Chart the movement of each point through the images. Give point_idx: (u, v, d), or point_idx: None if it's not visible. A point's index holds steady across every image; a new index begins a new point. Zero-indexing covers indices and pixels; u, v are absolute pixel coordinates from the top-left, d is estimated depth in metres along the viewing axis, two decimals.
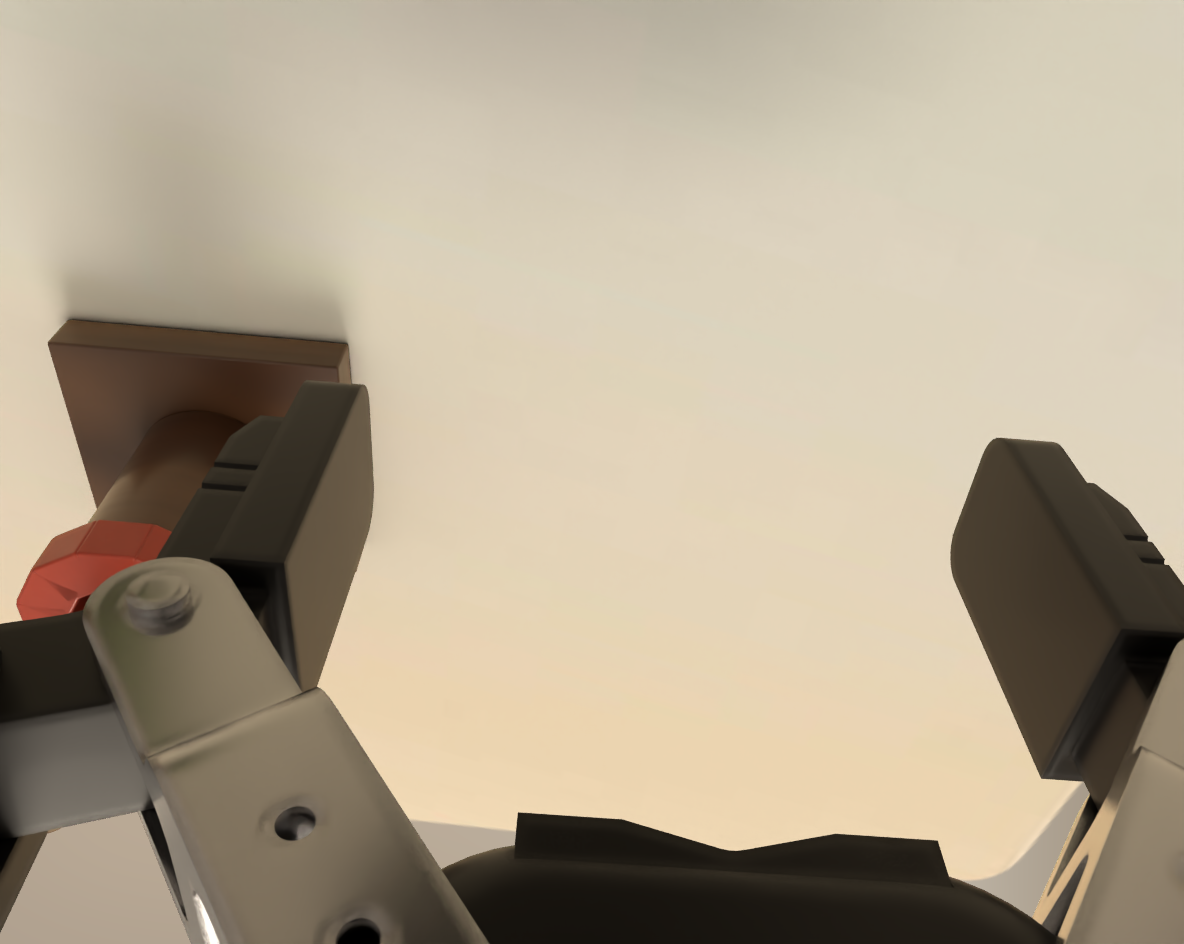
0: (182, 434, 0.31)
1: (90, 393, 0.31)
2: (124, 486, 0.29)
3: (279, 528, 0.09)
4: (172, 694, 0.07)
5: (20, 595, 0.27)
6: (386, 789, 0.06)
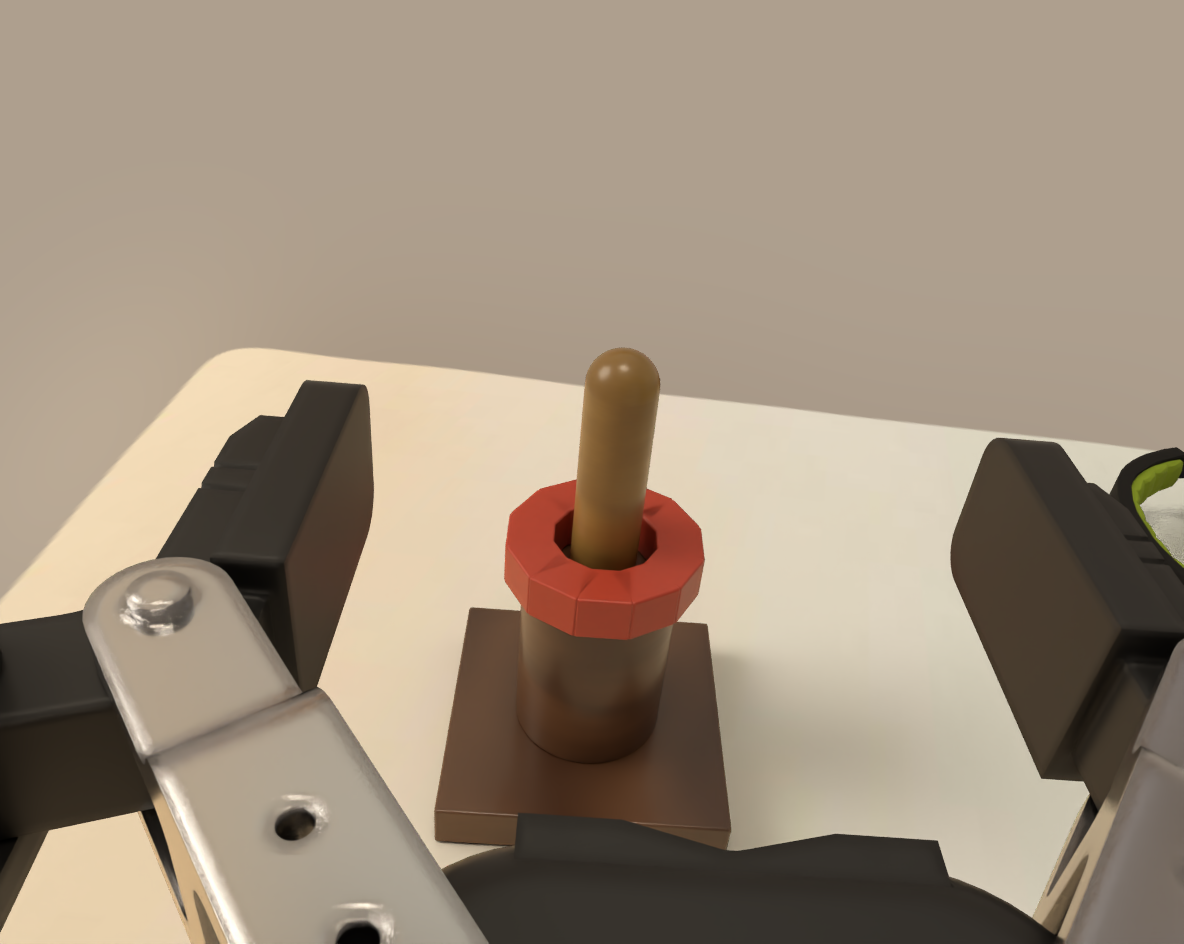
0: None
1: None
2: None
3: (279, 528, 0.09)
4: (172, 694, 0.07)
5: None
6: (386, 789, 0.06)
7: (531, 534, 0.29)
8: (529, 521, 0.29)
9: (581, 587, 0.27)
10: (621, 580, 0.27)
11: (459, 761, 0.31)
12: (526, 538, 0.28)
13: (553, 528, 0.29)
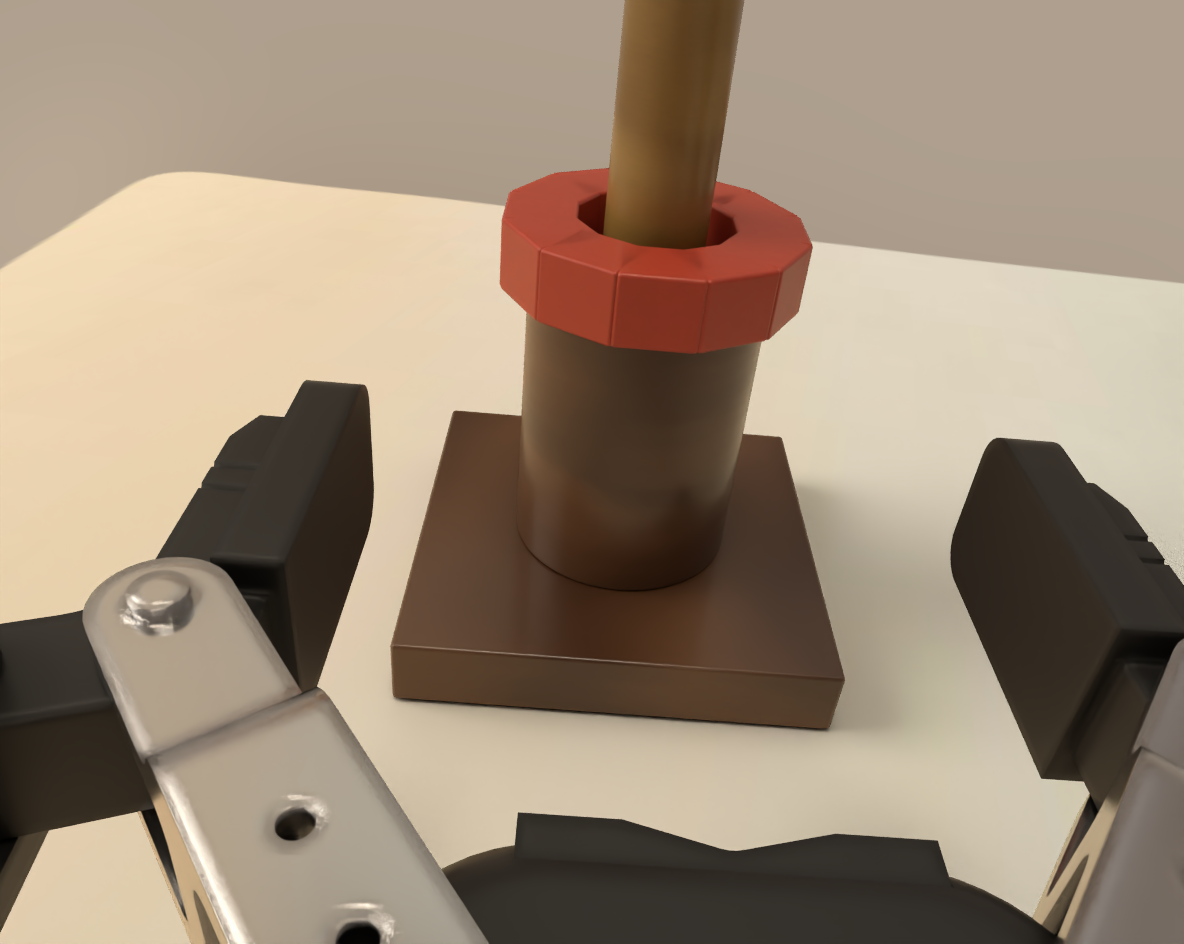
0: None
1: None
2: None
3: (279, 528, 0.09)
4: (172, 694, 0.07)
5: None
6: (386, 789, 0.06)
7: (543, 209, 0.18)
8: (539, 198, 0.19)
9: (623, 262, 0.17)
10: (686, 257, 0.17)
11: (431, 584, 0.21)
12: (534, 213, 0.18)
13: (576, 206, 0.19)
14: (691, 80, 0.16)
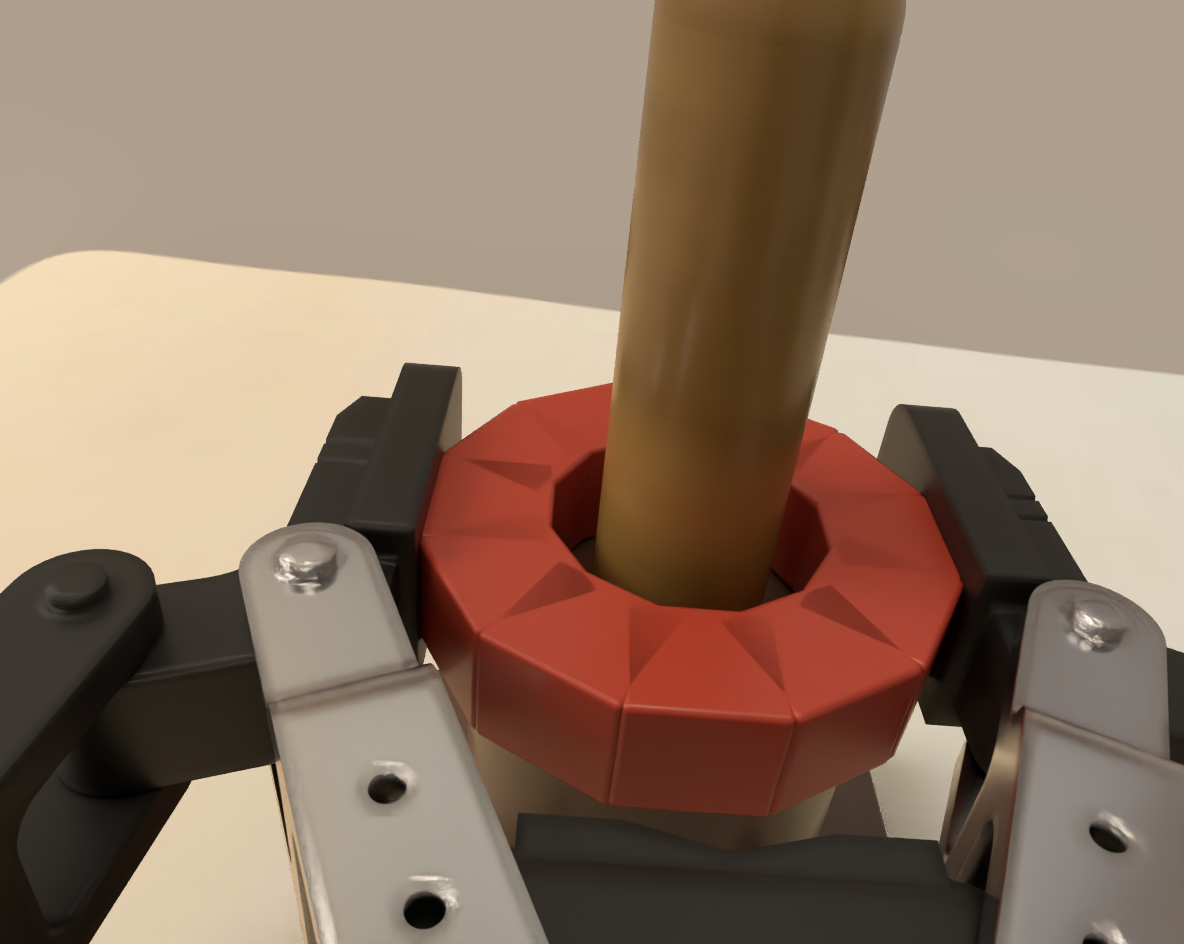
0: None
1: None
2: None
3: (404, 498, 0.10)
4: (304, 649, 0.08)
5: None
6: (476, 771, 0.06)
7: (491, 508, 0.11)
8: (487, 475, 0.11)
9: (632, 665, 0.09)
10: (749, 641, 0.09)
11: None
12: (476, 518, 0.10)
13: (550, 493, 0.11)
14: (763, 334, 0.08)
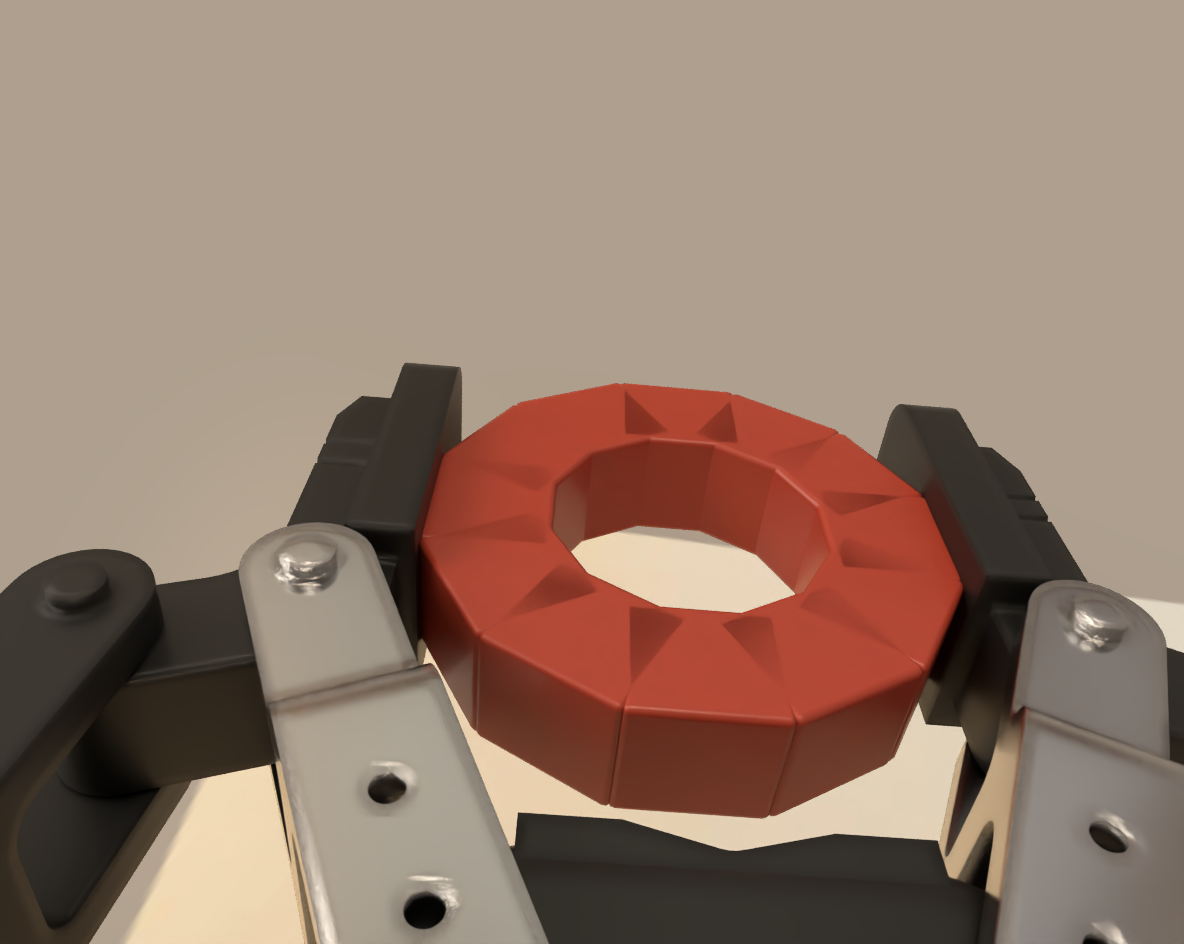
0: None
1: None
2: None
3: (404, 498, 0.10)
4: (304, 649, 0.08)
5: (758, 403, 0.13)
6: (476, 771, 0.06)
7: (491, 509, 0.11)
8: (487, 476, 0.11)
9: (633, 667, 0.09)
10: (750, 643, 0.09)
11: None
12: (476, 519, 0.10)
13: (550, 494, 0.11)
14: None
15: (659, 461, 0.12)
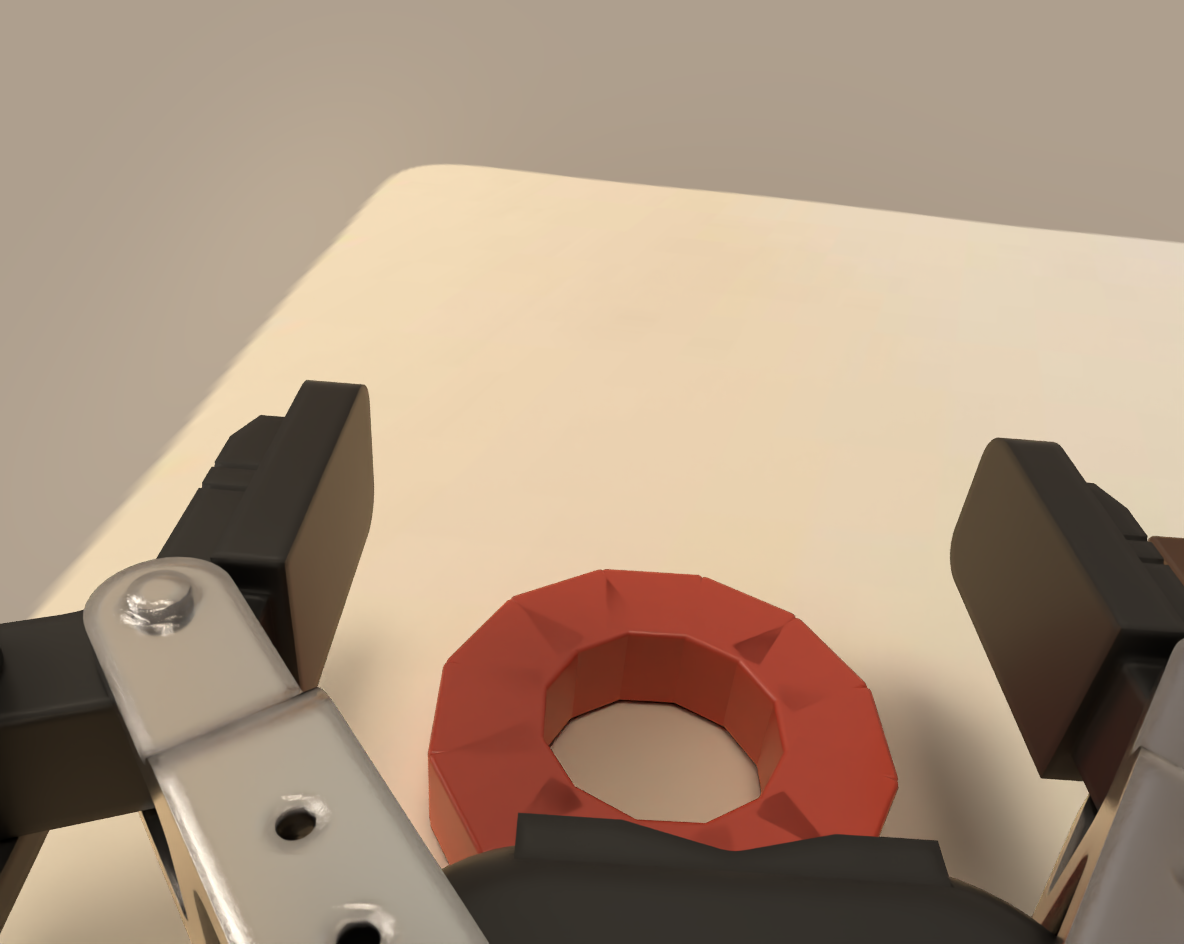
0: None
1: None
2: None
3: (279, 528, 0.09)
4: (173, 694, 0.07)
5: (725, 585, 0.15)
6: (387, 789, 0.06)
7: (490, 720, 0.12)
8: (487, 683, 0.13)
9: None
10: None
11: None
12: (478, 732, 0.12)
13: (542, 701, 0.13)
14: None
15: (637, 650, 0.14)
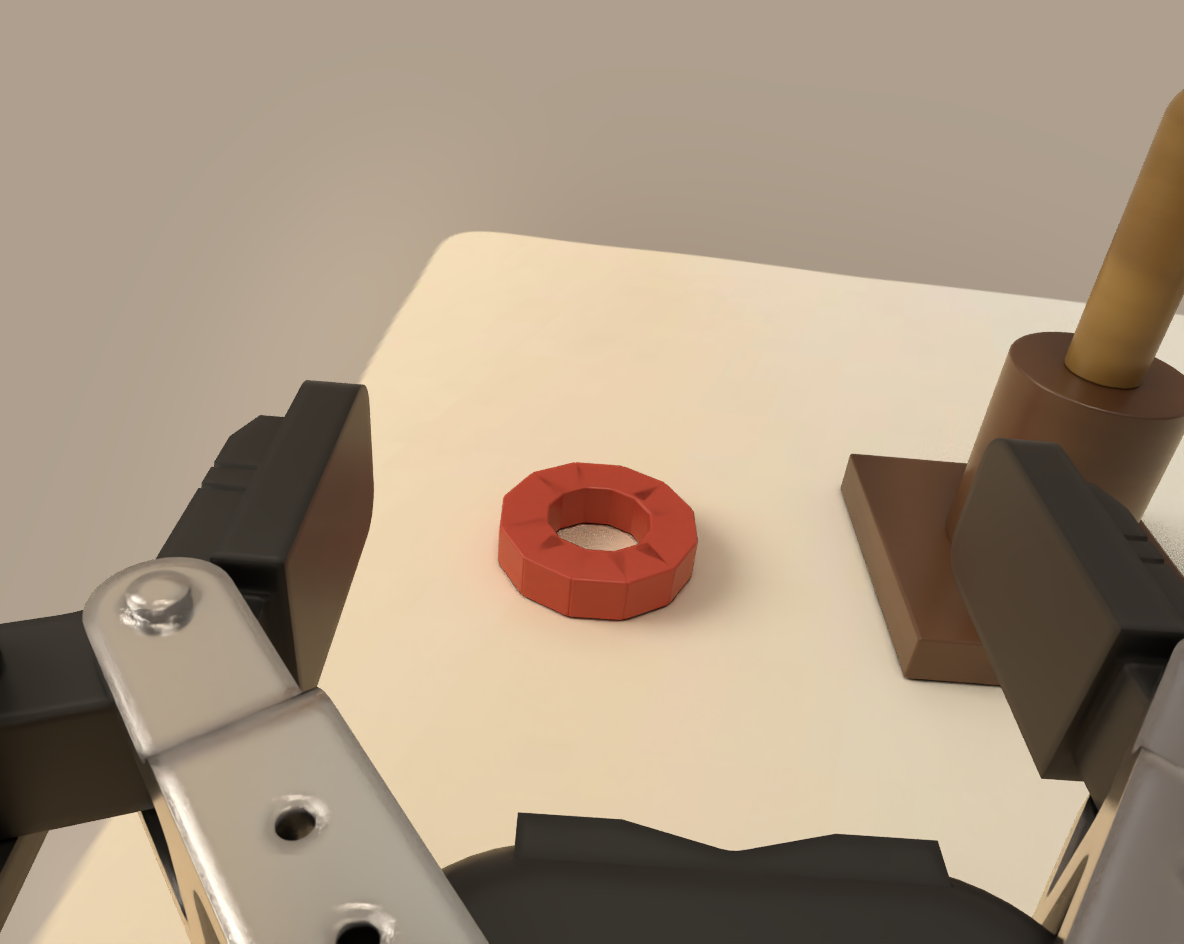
0: None
1: None
2: None
3: (279, 528, 0.09)
4: (172, 694, 0.07)
5: (633, 470, 0.31)
6: (386, 789, 0.06)
7: (525, 515, 0.29)
8: (523, 503, 0.29)
9: (575, 567, 0.27)
10: (615, 560, 0.27)
11: (920, 592, 0.27)
12: (520, 519, 0.28)
13: (547, 510, 0.29)
14: None
15: (590, 496, 0.30)
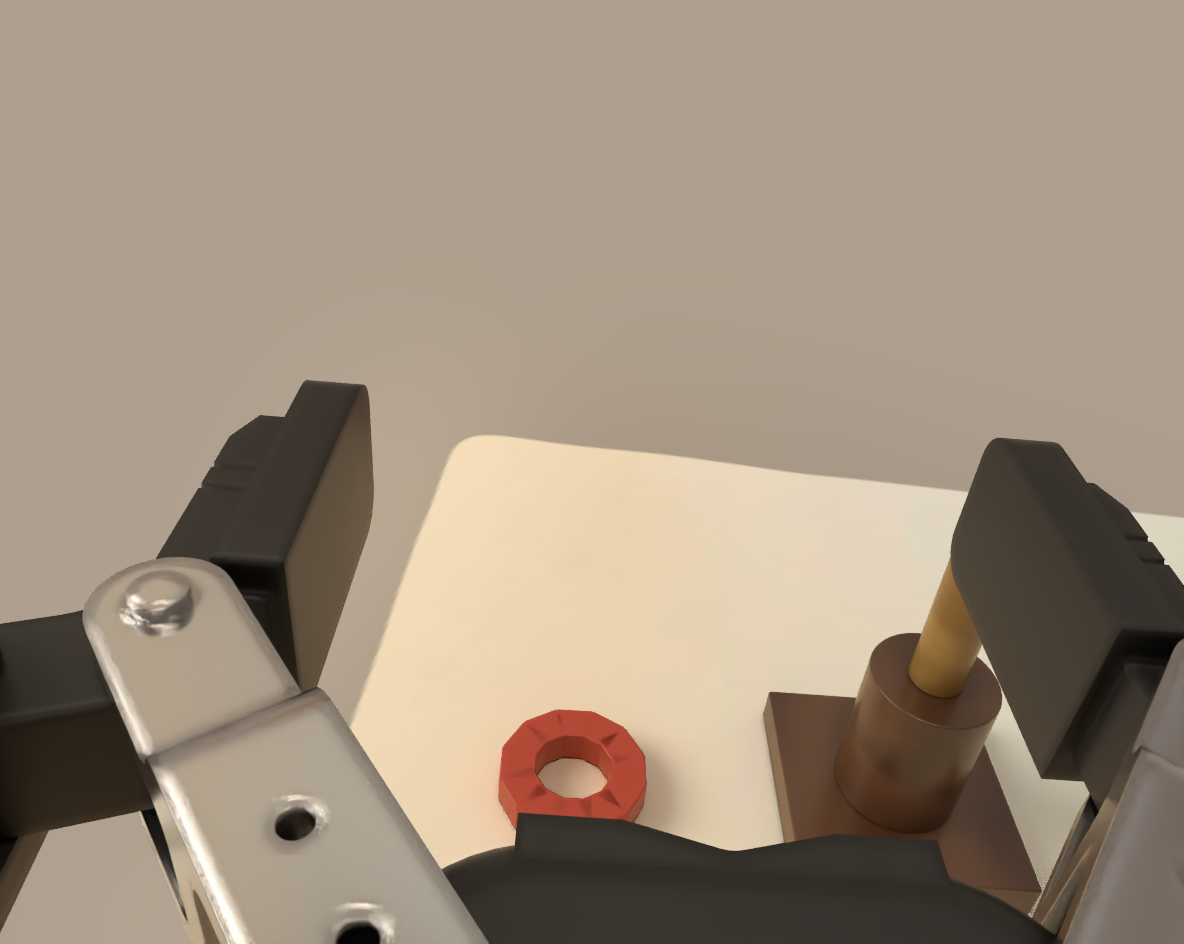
0: None
1: None
2: None
3: (279, 528, 0.09)
4: (172, 694, 0.07)
5: (600, 715, 0.41)
6: (386, 789, 0.06)
7: (518, 766, 0.39)
8: (517, 754, 0.39)
9: None
10: (584, 807, 0.37)
11: (807, 831, 0.37)
12: (515, 770, 0.39)
13: (535, 760, 0.39)
14: None
15: (568, 740, 0.40)
